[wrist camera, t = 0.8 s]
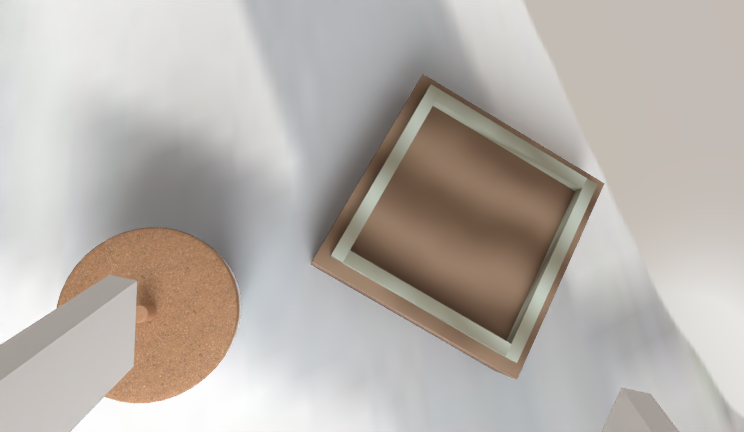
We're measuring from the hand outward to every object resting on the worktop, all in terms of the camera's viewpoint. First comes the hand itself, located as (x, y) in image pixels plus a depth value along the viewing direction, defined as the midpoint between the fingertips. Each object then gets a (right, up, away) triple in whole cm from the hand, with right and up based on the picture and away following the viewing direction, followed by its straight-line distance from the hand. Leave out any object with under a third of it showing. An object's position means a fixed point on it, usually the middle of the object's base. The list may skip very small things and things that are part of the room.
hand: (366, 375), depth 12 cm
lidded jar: (-15, -3, +23) cm, 28 cm away
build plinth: (+7, +3, +27) cm, 29 cm away
